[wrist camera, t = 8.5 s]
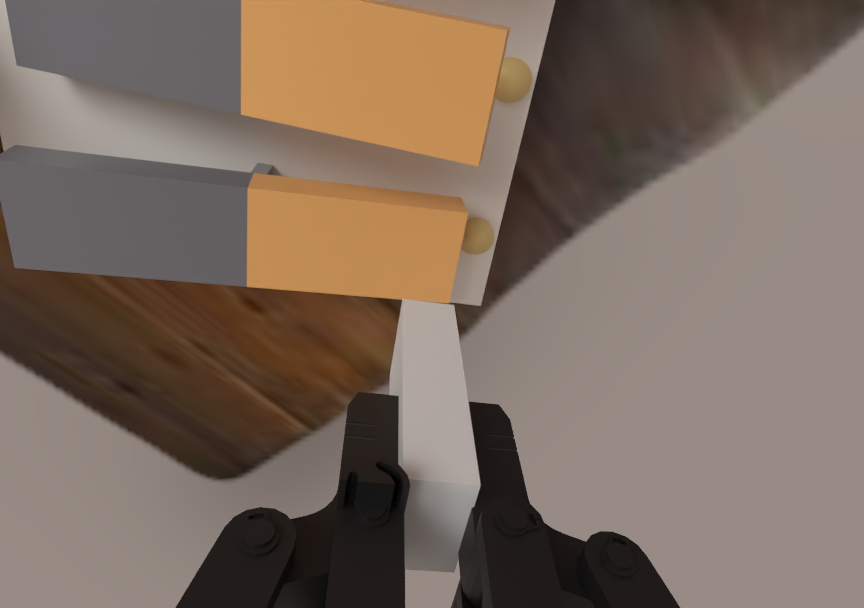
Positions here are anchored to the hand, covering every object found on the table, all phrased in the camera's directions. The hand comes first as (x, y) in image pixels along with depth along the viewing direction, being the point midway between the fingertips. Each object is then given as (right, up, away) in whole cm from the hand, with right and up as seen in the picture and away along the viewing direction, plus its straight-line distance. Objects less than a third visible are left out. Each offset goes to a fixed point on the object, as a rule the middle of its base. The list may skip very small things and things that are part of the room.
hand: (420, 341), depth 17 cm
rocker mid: (-5, +9, +2) cm, 11 cm away
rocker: (-7, +4, +5) cm, 9 cm away
